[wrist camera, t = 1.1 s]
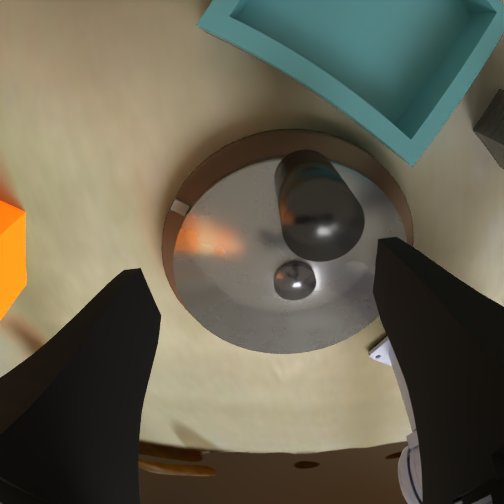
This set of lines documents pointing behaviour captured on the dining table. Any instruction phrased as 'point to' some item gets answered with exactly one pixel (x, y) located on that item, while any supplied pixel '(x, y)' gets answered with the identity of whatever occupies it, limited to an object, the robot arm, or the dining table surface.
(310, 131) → the crank base
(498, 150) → the block
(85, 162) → the dining table surface
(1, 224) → the orange juice
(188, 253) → the crank
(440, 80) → the tray
